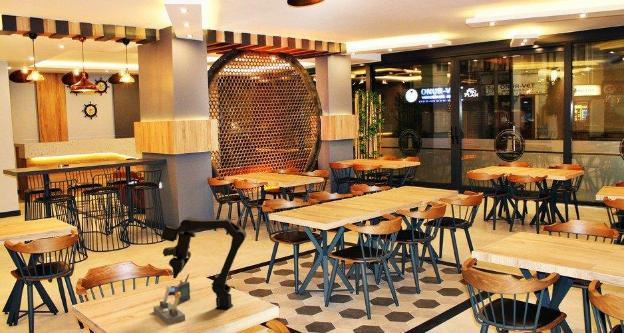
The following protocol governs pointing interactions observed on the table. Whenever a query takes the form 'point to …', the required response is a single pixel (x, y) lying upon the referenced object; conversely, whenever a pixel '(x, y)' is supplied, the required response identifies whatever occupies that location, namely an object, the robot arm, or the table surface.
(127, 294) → the table surface
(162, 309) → the switch panel
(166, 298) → the steel lever
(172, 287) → the camera
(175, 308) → the brass lever
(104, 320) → the table surface
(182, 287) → the flask
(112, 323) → the table surface
